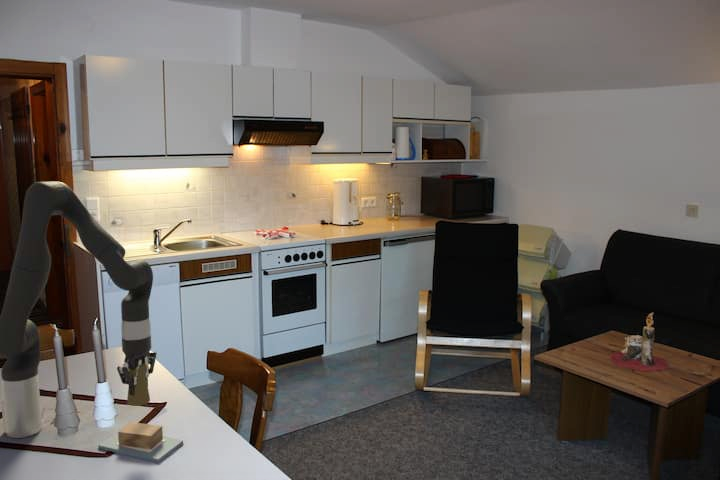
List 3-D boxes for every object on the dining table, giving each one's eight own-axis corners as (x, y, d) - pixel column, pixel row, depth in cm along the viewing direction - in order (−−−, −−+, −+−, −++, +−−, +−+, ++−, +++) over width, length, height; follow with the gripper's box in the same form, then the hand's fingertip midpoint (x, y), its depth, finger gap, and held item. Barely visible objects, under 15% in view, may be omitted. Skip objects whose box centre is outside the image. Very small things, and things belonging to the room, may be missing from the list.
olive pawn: (142, 407, 169) (141, 368, 167) (122, 404, 170) (120, 366, 168) (154, 397, 174) (152, 360, 172) (134, 395, 176) (133, 358, 174)
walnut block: (118, 445, 172) (118, 431, 172) (130, 434, 178) (130, 422, 178) (151, 449, 171) (151, 436, 170) (162, 439, 176) (162, 425, 176)
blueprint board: (98, 448, 173) (98, 444, 173) (125, 430, 183) (125, 427, 183) (158, 462, 166) (158, 458, 166) (183, 443, 176) (183, 439, 176)
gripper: (142, 324, 177) (144, 381, 180) (106, 340, 163) (109, 401, 167) (164, 328, 174) (166, 385, 177) (129, 344, 161) (132, 406, 164)
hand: (138, 393), depth 172 cm, fingers closed on olive pawn, 3 cm apart
